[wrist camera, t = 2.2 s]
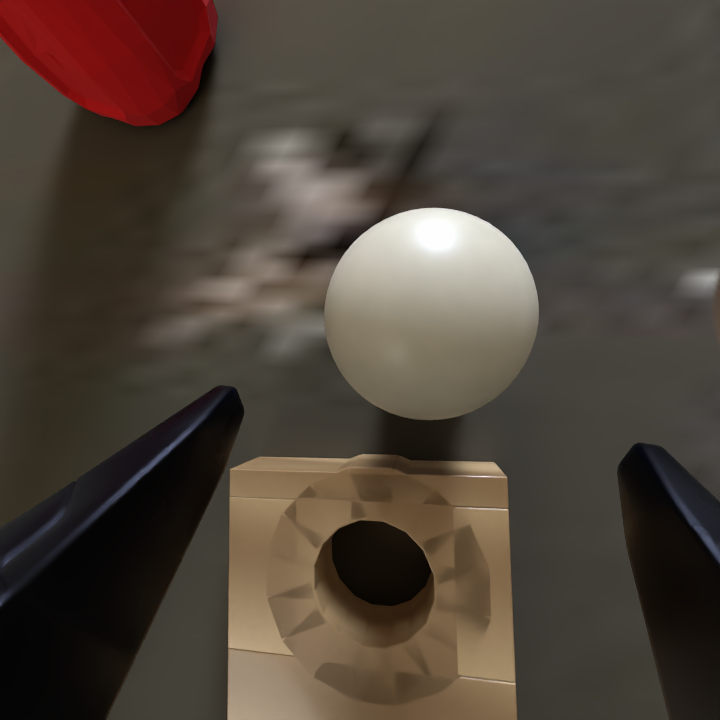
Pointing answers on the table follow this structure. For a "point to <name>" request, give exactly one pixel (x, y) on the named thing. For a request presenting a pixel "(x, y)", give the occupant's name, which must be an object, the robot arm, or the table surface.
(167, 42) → the water bottle
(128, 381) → the table surface
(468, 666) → the holder
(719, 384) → the table surface
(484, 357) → the white topped blue rod
